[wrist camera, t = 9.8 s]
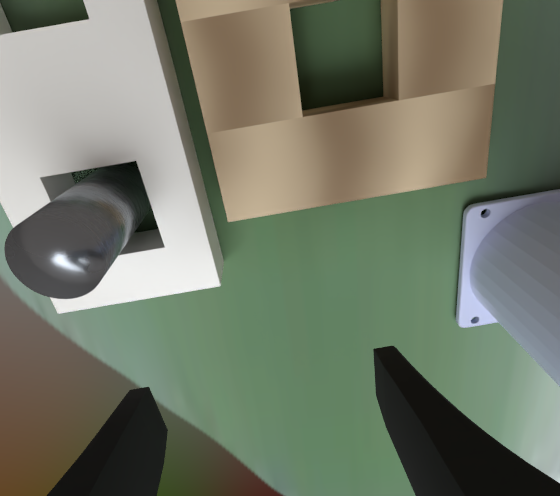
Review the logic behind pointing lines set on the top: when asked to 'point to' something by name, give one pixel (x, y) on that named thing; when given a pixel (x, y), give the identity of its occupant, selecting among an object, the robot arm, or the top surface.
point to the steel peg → (78, 233)
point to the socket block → (342, 117)
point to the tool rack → (107, 141)
